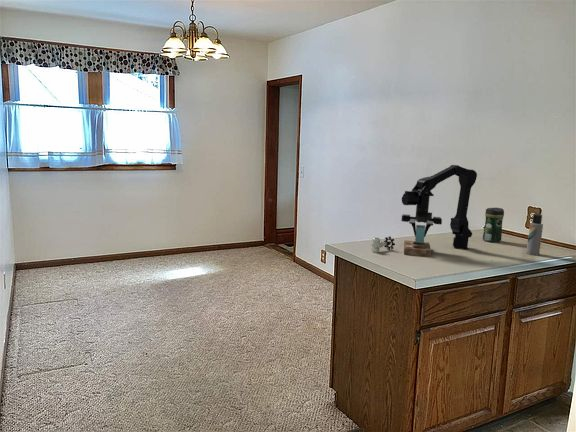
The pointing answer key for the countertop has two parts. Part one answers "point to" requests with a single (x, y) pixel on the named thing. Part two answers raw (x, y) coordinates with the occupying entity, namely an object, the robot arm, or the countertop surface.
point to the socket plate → (417, 248)
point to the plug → (420, 233)
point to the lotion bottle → (535, 235)
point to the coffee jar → (493, 224)
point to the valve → (381, 244)
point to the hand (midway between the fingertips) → (419, 236)
